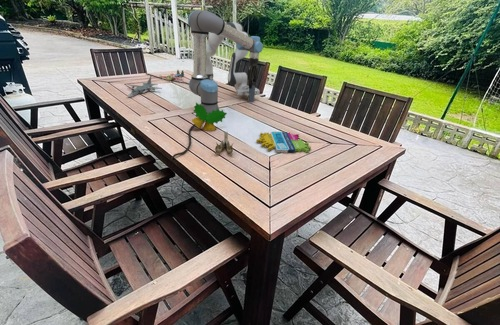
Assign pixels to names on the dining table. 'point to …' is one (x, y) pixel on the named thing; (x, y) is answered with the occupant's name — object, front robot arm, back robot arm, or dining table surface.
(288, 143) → the packaged colorful gloves
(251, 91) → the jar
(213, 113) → the ornament
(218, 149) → the jawbone
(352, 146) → the dining table surface
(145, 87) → the airplane
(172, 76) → the toy
